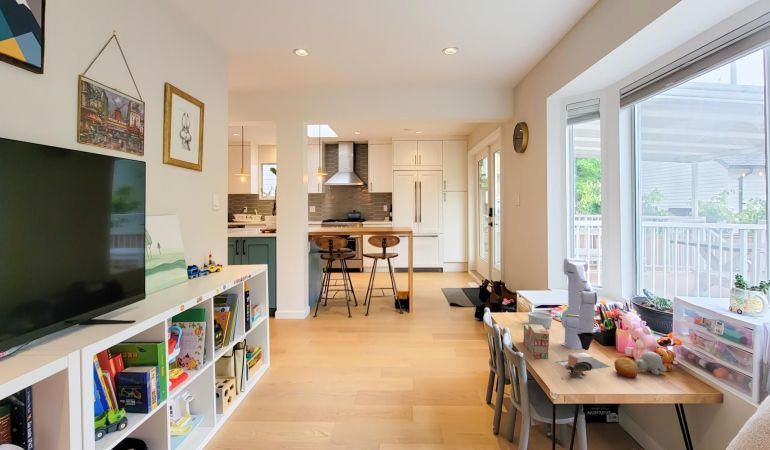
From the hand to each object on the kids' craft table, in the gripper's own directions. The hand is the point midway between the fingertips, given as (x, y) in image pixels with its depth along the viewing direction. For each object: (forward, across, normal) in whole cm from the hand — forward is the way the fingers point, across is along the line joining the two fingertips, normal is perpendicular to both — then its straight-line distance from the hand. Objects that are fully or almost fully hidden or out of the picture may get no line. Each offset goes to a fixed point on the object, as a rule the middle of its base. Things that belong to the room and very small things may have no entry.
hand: (585, 349), depth 153 cm
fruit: (+7, +8, -12) cm, 16 cm away
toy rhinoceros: (+7, +20, -12) cm, 25 cm away
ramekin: (+7, +19, +50) cm, 54 cm away
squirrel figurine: (+7, -12, -9) cm, 17 cm away
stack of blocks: (+7, -10, +19) cm, 23 cm away
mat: (+7, -1, 0) cm, 7 cm away
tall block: (+4, +2, 0) cm, 5 cm away
